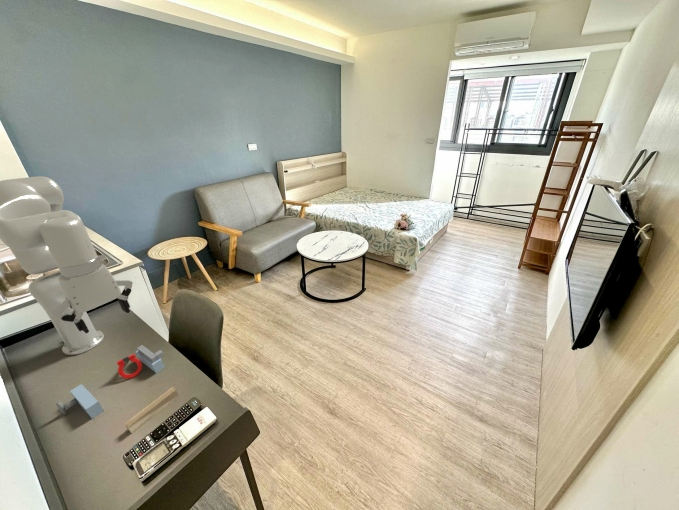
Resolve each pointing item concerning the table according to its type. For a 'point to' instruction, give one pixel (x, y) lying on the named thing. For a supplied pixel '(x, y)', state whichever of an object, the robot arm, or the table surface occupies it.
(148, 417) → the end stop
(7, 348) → the table surface
